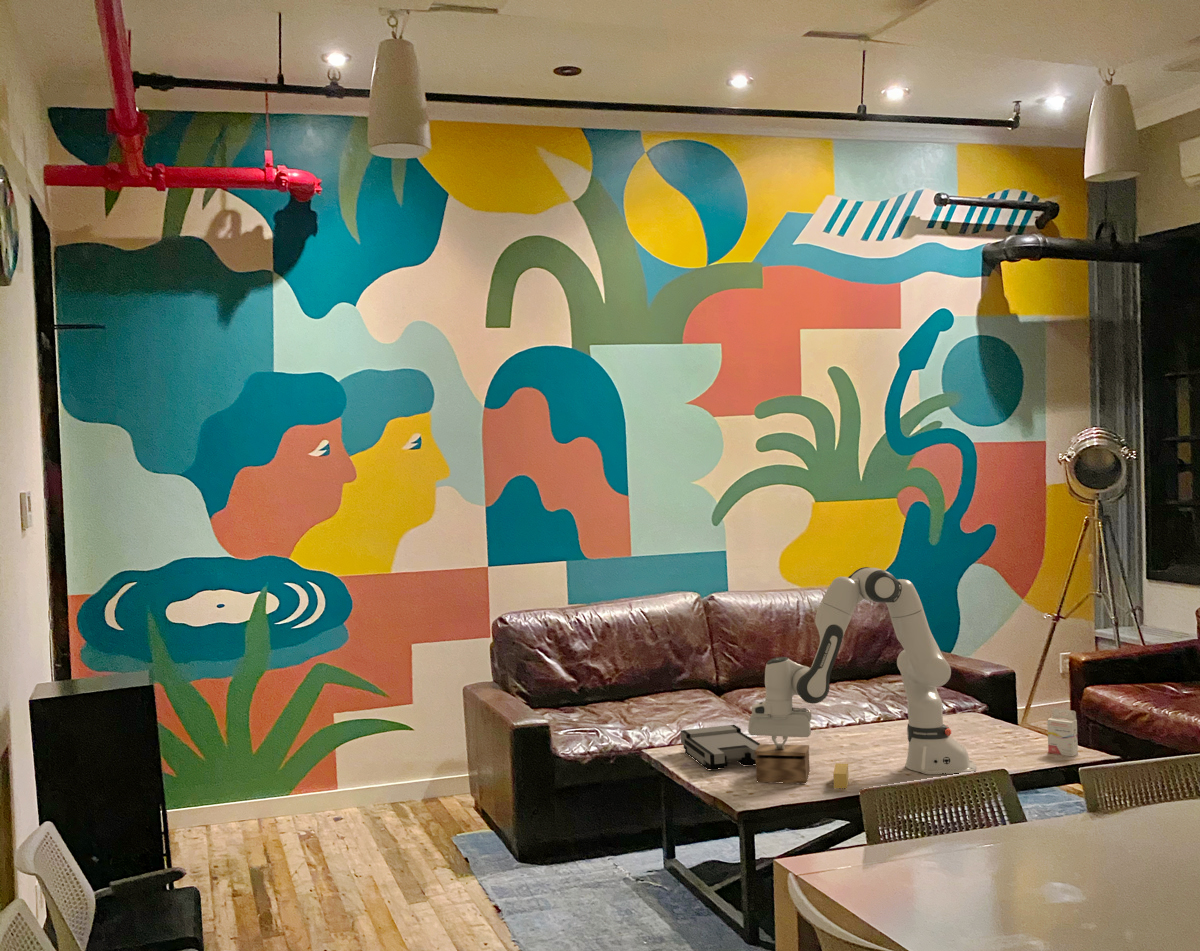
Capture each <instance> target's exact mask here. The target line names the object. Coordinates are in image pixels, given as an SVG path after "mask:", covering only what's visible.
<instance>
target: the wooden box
mask: <svg viewBox="0 0 1200 951" xmlns="http://www.w3.org/2000/svg"><path fill="white" fill-rule="evenodd" d="M755 760H756V765H755V777H756V778H755V779H756V781H755V782H756V783H757V781H758V782H783V783H782V784H788V783H806V782H807V783H808V780H809V776H810V773H809V772H811V770H810V767H811V766H810V749H809V750H808V752H807V754H806V756H780V755H757V756H756V758H755ZM808 775H809V776H808ZM807 779H808V780H807ZM807 783H806V784H807Z"/></svg>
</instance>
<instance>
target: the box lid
mask: <svg viewBox="0 0 1200 951" xmlns="http://www.w3.org/2000/svg"><path fill="white" fill-rule="evenodd" d="M808 750H809V751H810V745H809V744H808V745H807V744H784V750H776V749H775V744H772V743H770V744H767V743H760V745H759V746H758V748H757V749H756V750H755V752H754V754H755V755H780V756H806V754H807V752H808Z"/></svg>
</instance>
